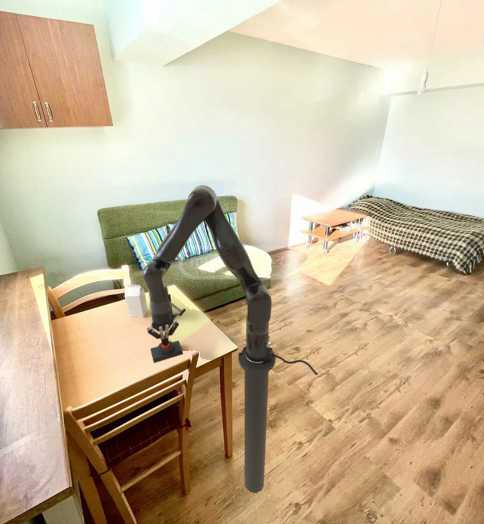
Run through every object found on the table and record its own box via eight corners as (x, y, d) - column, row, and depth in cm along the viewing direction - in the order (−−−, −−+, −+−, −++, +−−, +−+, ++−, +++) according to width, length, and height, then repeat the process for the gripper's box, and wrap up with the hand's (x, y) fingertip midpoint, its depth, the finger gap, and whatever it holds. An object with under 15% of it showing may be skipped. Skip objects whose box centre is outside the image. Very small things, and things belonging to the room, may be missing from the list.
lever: (184, 312, 139) (186, 309, 138) (179, 317, 134) (181, 314, 133) (163, 296, 139) (165, 293, 138) (158, 301, 135) (160, 298, 134)
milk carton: (144, 320, 139) (137, 288, 130) (130, 320, 139) (122, 289, 130) (148, 311, 145) (142, 281, 136) (134, 312, 145) (127, 281, 136)
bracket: (179, 315, 143) (177, 293, 138) (171, 324, 136) (168, 301, 131) (162, 312, 146) (159, 290, 141) (153, 320, 139) (150, 298, 134)
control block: (178, 344, 122) (178, 337, 120) (183, 354, 116) (182, 346, 114) (150, 352, 117) (149, 345, 116) (153, 363, 111) (152, 355, 110)
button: (169, 343, 118) (169, 340, 117) (171, 349, 115) (171, 345, 114) (160, 346, 116) (160, 342, 116) (162, 351, 113) (162, 348, 113)
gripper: (144, 317, 102) (150, 354, 109) (179, 309, 107) (183, 345, 114) (141, 307, 109) (147, 343, 115) (175, 300, 114) (178, 334, 120)
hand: (165, 344), depth 115 cm, fingers closed
